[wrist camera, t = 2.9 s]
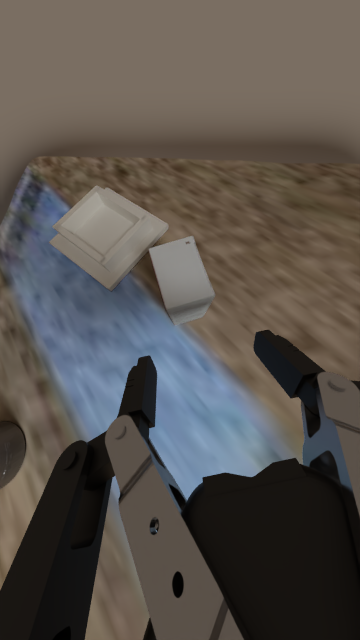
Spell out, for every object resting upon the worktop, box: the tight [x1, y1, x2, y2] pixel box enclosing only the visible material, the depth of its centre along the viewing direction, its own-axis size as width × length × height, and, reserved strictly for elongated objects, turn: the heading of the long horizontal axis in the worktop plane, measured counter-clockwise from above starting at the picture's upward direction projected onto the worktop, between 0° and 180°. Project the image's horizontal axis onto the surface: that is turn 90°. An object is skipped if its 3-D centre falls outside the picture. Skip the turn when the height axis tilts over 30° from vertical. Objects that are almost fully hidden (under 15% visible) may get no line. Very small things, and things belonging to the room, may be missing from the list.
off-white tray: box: [49, 185, 168, 292], centre depth 27 cm, size 18×18×4 cm
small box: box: [148, 236, 215, 325], centre depth 19 cm, size 8×6×10 cm
